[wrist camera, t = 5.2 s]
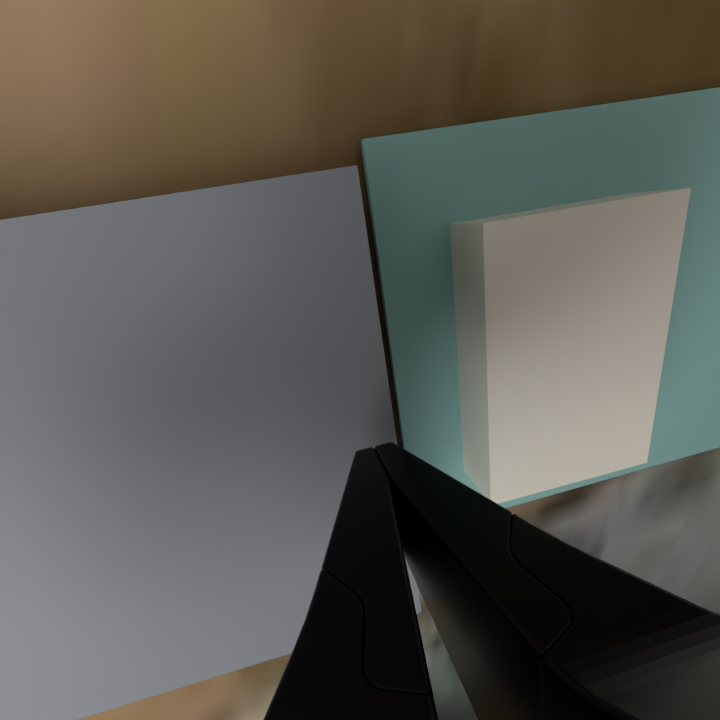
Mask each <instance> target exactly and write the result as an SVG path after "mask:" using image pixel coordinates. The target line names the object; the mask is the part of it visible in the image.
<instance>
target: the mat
mask: <svg viewBox="0 0 720 720" xmlns="http://www.w3.org/2000/svg"><path fill="white" fill-rule="evenodd" d="M360 143H361V150H362V157H363V164H364V172H365V179H366V186H367V193H368V201H369V208H370V215H371V222H372V230H373V237H374V244H375V252H376V259H377V266H378V273H379V281H380V288H381V295H382V302H383V310H384V317H385V324H386V331H387V339H388V346H389V353H390V360H391V368H392V375H393V382H394V389H395V397H396V404H397V411H398V419H399V426H400V433H401V440H402V448H403V449H405V450H407V451H408V452H410V453H412V454H413V455H415V456H417V457H419V458H420V459H422V460H424V461H425V462H427V463H429V464H431V465H432V466H434V467H436V468H437V469H439V470H441V471H443V472H444V473H446V474H448V475H449V476H451V477H453V478H455V479H456V480H458V481H460V482H461V483H463V484H465V485H466V486H468V487H470V488H472V489H473V490H475V491H477V492H478V493H480V494H482V493H481V492H480V490H479V489H478V488H477V486H476V485H475V484H474V482H473V481H472V480H471V478H470V477H469V476H468V474H467V473H466V472H465V470H464V459H463V442H462V425H461V408H460V391H459V373H458V356H457V339H456V322H455V305H454V287H453V270H452V253H451V236H450V224H452V223H458V222H464V221H470V220H476V219H481V218H487V217H493V216H499V215H505V214H511V213H517V212H523V211H528V210H534V209H540V208H546V207H552V206H558V205H564V204H569V203H575V202H581V201H587V200H593V199H599V198H605V197H610V196H616V195H622V194H629V193H639V192H650V191H660V190H670V189H681V188H691V191H690V197H689V203H688V210H687V216H686V222H685V228H684V235H683V241H682V247H681V253H680V260H679V266H678V272H677V278H676V285H675V291H674V297H673V303H672V310H671V316H670V322H669V328H668V335H667V341H666V347H665V353H664V360H663V366H662V372H661V378H660V385H659V391H658V397H657V403H656V410H655V416H654V422H653V428H652V435H651V441H650V447H649V453H648V460H647V463H644V464H641V465H637V466H633V467H630V468H626V469H622V470H619V471H615V472H612V473H608V474H604V475H601V476H597V477H593V478H590V479H586V480H582V481H579V482H575V483H572V484H568V485H564V486H561V487H557V488H553V489H550V490H546V491H542V492H539V493H535V494H532V495H528V496H524V497H521V498H517V499H513V500H510V501H506V502H502V503H499V505H501V506H502V507H504V508H508V507H511V506H515V505H518V504H522V503H525V502H529V501H532V500H536V499H539V498H543V497H546V496H550V495H553V494H557V493H560V492H564V491H568V490H571V489H575V488H578V487H582V486H585V485H589V484H592V483H596V482H599V481H603V480H606V479H610V478H613V477H617V476H620V475H624V474H627V473H631V472H634V471H638V470H642V469H645V468H649V467H652V466H656V465H659V464H663V463H666V462H670V461H673V460H677V459H680V458H684V457H687V456H691V455H694V454H698V453H701V452H705V451H708V450H712V449H716V448H719V447H720V87H718V88H711V89H704V90H697V91H690V92H683V93H677V94H670V95H663V96H656V97H649V98H642V99H635V100H628V101H621V102H614V103H608V104H601V105H594V106H587V107H580V108H573V109H566V110H559V111H552V112H546V113H539V114H532V115H525V116H518V117H511V118H504V119H497V120H490V121H483V122H477V123H470V124H463V125H456V126H449V127H442V128H435V129H428V130H421V131H415V132H408V133H401V134H394V135H387V136H380V137H373V138H366V139H362V140H361V141H360ZM482 495H483V494H482Z"/></svg>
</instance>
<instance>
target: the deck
mask: <svg viewBox="0 0 720 720" xmlns="http://www.w3.org/2000/svg"><path fill="white" fill-rule="evenodd" d="M388 442H393V443H395V444H396V445H397V438H396V432H395V425H394V418H393V411H392V404H391V397H390V390H389V383H388V376H387V369H386V362H385V355H384V348H383V341H382V334H381V327H380V320H379V313H378V306H377V299H376V292H375V285H374V278H373V271H372V264H371V257H370V250H369V243H368V236H367V229H366V222H365V215H364V208H363V201H362V194H361V187H360V180H359V173H358V166H357V165H354V166H348V167H341V168H335V169H328V170H322V171H315V172H309V173H302V174H296V175H289V176H283V177H276V178H270V179H263V180H257V181H250V182H244V183H237V184H231V185H224V186H218V187H211V188H205V189H198V190H192V191H185V192H179V193H172V194H166V195H159V196H153V197H146V198H140V199H133V200H127V201H120V202H114V203H107V204H101V205H94V206H88V207H81V208H75V209H68V210H61V211H55V212H48V213H42V214H35V215H29V216H22V217H16V218H9V219H3V220H0V720H78V719H81V718H85V717H88V716H91V715H94V714H98V713H101V712H104V711H107V710H110V709H114V708H117V707H120V706H123V705H126V704H130V703H133V702H136V701H139V700H142V699H146V698H149V697H152V696H155V695H159V694H162V693H165V692H168V691H171V690H175V689H178V688H181V687H184V686H187V685H191V684H194V683H197V682H200V681H203V680H207V679H210V678H213V677H216V676H219V675H223V674H226V673H229V672H232V671H236V670H239V669H242V668H245V667H248V666H252V665H255V664H258V663H261V662H264V661H268V660H271V659H274V658H277V657H280V656H284V655H287V654H290V653H292V651H293V649H294V646H295V644H296V641H297V639H298V636H299V634H300V631H301V629H302V626H303V624H304V621H305V618H306V615H307V612H308V609H309V606H310V603H311V600H312V597H313V594H314V591H315V587H316V584H317V580H318V577H319V574H320V571H321V570H322V564H323V561H324V557H325V554H326V550H327V547H328V543H329V540H330V537H331V533H332V530H333V526H334V523H335V519H336V516H337V513H338V509H339V506H340V502H341V499H342V495H343V492H344V489H345V485H346V482H347V478H348V475H349V471H350V468H351V465H352V461H353V458H354V454H355V452H356V451H357V450H361V449H365V448H369V447H373V448H375V446H377V445H380V444H384V443H388ZM405 560H406V559H405ZM406 565H407V570H408V575H409V580H410V585H411V589H412V594H413V599H414V604H415V609H416V614H418V613H421V606H420V599H419V592H418V585H417V583H416V581H415V579H414V576H413V574H412V572H411V570H410V567H409V565H408V563H407V561H406Z"/></svg>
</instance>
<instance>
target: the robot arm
mask: <svg viewBox="0 0 720 720" xmlns="http://www.w3.org/2000/svg"><path fill="white" fill-rule="evenodd" d="M405 559H406V560H405ZM406 561H407V563H408V565H409V567H410V570H411V572H412V574H413V576H414V579H415V581H416V583H417V585H418V587H419V590H420V592H421V594H422V596H423V598H424V601H425V603H426V605H427V607H428V609H429V612H430V614H431V616H432V618H433V620H434V623H435V625H436V627H437V629H438V631H439V634H440V636H441V638H442V640H443V643H444V645H445V647H446V649H447V651H448V654H449V656H450V658H451V660H452V662H453V665H454V667H455V669H456V671H457V673H458V676H459V678H460V680H461V682H462V684H463V687H464V689H465V691H466V693H467V695H468V698H469V700H470V702H471V704H472V707H473V709H474V711H475V713H476V715H477V718H478V720H720V615H719V614H717V613H714V612H712V611H709V610H707V609H705V608H702V607H700V606H698V605H696V604H693V603H691V602H689V601H687V600H685V599H683V598H681V597H679V596H676V595H674V594H672V593H670V592H668V591H666V590H664V589H662V588H660V587H658V586H655V585H653V584H651V583H649V582H647V581H645V580H643V579H641V578H639V577H636V576H634V575H632V574H630V573H628V572H626V571H624V570H622V569H620V568H618V567H615V566H613V565H611V564H609V563H607V562H605V561H603V560H601V559H599V558H597V557H595V556H593V555H591V554H589V553H587V552H585V551H583V550H581V549H579V548H577V547H575V546H573V545H571V544H569V543H567V542H564V541H562V540H561V539H559V538H557V537H555V536H553V535H552V534H550V533H548V532H546V531H544V530H543V529H541V528H539V527H537V526H535V525H534V524H532V523H530V522H528V521H527V520H525V519H523V518H521V517H520V516H518V515H516V514H513V515H512V512H511V511H509V510H508V509H506V508H504V507H502V506H501V505H499V504H497V503H496V502H494V501H492V500H490V499H489V498H487V497H485V496H484V495H482V494H480V493H478V492H477V491H475V490H473V489H472V488H470V487H468V486H466V485H465V484H463V483H461V482H460V481H458V480H456V479H455V478H453V477H451V476H449V475H448V474H446V473H444V472H443V471H441V470H439V469H437V468H436V467H434V466H432V465H431V464H429V463H427V462H425V461H424V460H422V459H420V458H419V457H417V456H415V455H413V454H412V453H410V452H408V451H407V450H405V449H403V448H402V447H400V446H398V445H396V444H395V443H393V442H388V443H384V444H380V445H377V446H375V448H373V447H369V448H365V449H361V450H357V451H356V452H355V454H354V458H353V461H352V465H351V468H350V471H349V475H348V478H347V482H346V485H345V489H344V492H343V495H342V499H341V502H340V506H339V509H338V513H337V516H336V519H335V523H334V526H333V530H332V533H331V537H330V540H329V543H328V547H327V550H326V554H325V557H324V561H323V564H322V570H321V571H320V574H319V577H318V580H317V584H316V587H315V591H314V594H313V597H312V600H311V603H310V606H309V609H308V612H307V615H306V618H305V621H304V624H303V626H302V629H301V631H300V634H299V636H298V639H297V641H296V644H295V646H294V649H293V651H292V654H291V656H290V659H289V661H288V663H287V666H286V668H285V670H284V673H283V675H282V677H281V680H280V682H279V684H278V687H277V689H276V691H275V694H274V696H273V698H272V701H271V703H270V706H269V708H268V710H267V713H266V715H265V717H264V720H438V717H437V712H436V707H435V703H434V698H433V692H432V687H431V683H430V678H429V673H428V668H427V663H426V658H425V653H424V648H423V643H422V638H421V634H420V629H419V624H418V619H417V614H416V609H415V604H414V599H413V594H412V589H411V585H410V580H409V575H408V570H407V565H406Z"/></svg>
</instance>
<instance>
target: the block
mask: <svg viewBox="0 0 720 720" xmlns="http://www.w3.org/2000/svg"><path fill="white" fill-rule="evenodd" d="M690 191H691V188H681V189H670V190H660V191H650V192H639V193H629V194H622V195H616V196H610V197H605V198H599V199H593V200H587V201H581V202H575V203H569V204H564V205H558V206H552V207H546V208H540V209H534V210H528V211H523V212H517V213H511V214H505V215H499V216H493V217H487V218H481V219H476V220H470V221H464V222H458V223H452V224H450V236H451V253H452V270H453V287H454V305H455V322H456V339H457V356H458V373H459V391H460V408H461V425H462V442H463V459H464V470H465V472H466V473H467V474H468V476H469V477H470V478H471V480H472V481H473V482H474V484H475V485H476V486H477V488H478V489H479V490H480V492H481V493H482V494H483V495H484V496H485V497H487V498H489V499H490V500H492V501H494V502H496V503H497V504H499V503H502V502H506V501H510V500H513V499H517V498H521V497H524V496H528V495H532V494H535V493H539V492H542V491H546V490H550V489H553V488H557V487H561V486H564V485H568V484H572V483H575V482H579V481H582V480H586V479H590V478H593V477H597V476H601V475H604V474H608V473H612V472H615V471H619V470H622V469H626V468H630V467H633V466H637V465H641V464H644V463H647V460H648V453H649V447H650V441H651V435H652V428H653V422H654V416H655V410H656V403H657V397H658V391H659V385H660V378H661V372H662V366H663V360H664V353H665V347H666V341H667V335H668V328H669V322H670V316H671V310H672V303H673V297H674V291H675V285H676V278H677V272H678V266H679V260H680V253H681V247H682V241H683V235H684V228H685V222H686V216H687V210H688V203H689V197H690Z"/></svg>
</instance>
